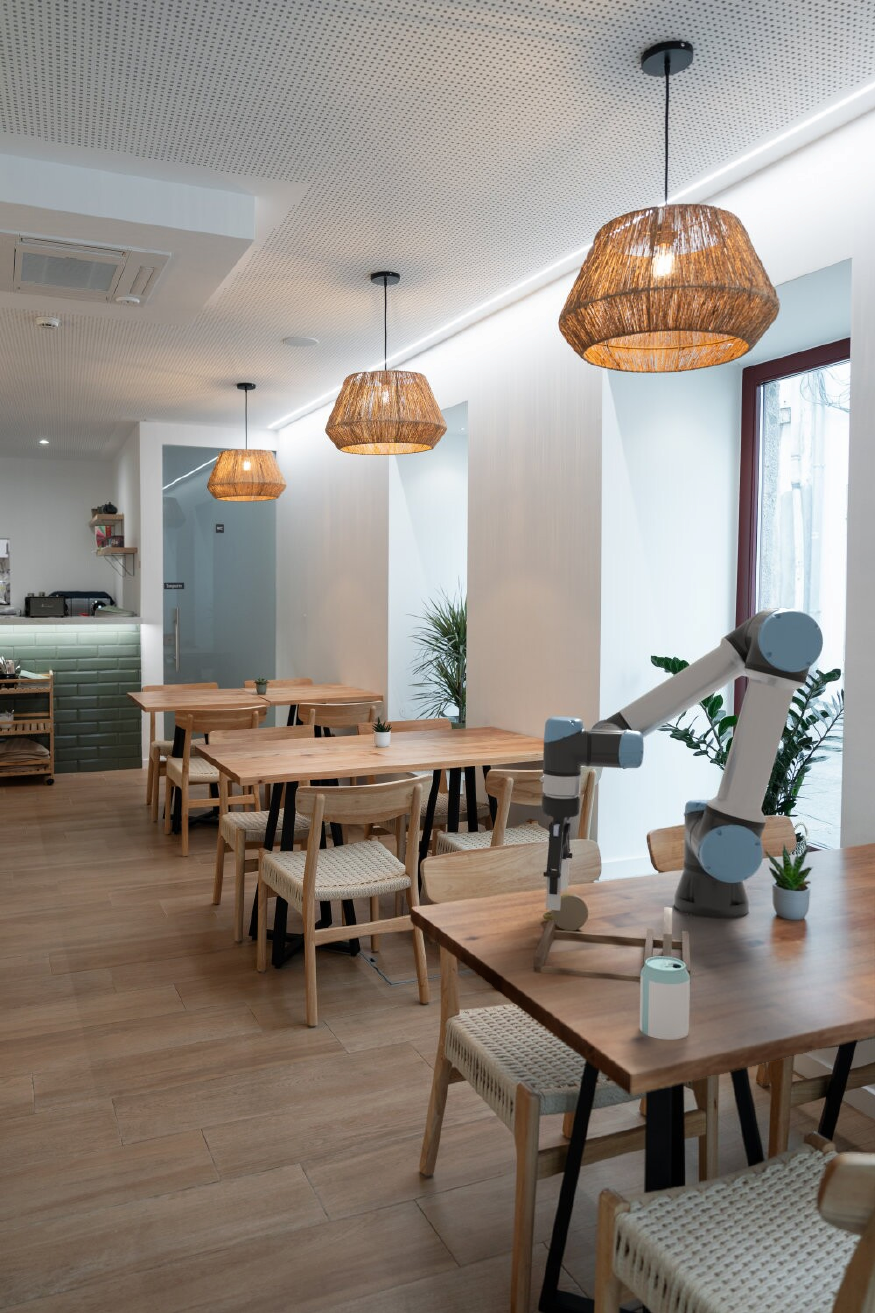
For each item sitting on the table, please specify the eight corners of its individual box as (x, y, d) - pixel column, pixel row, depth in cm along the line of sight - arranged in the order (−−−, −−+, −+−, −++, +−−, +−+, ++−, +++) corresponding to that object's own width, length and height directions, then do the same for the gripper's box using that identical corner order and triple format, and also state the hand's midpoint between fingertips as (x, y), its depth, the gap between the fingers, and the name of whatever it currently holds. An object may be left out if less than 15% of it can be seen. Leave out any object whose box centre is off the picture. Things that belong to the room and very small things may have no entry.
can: (668, 1029, 150) (670, 951, 149) (698, 1049, 143) (700, 967, 143) (629, 1037, 147) (631, 958, 146) (658, 1057, 140) (660, 974, 140)
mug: (578, 913, 203) (594, 882, 197) (575, 951, 195) (591, 920, 189) (543, 902, 203) (558, 871, 197) (538, 939, 195) (553, 908, 189)
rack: (688, 951, 183) (689, 905, 182) (690, 993, 163) (691, 941, 163) (548, 939, 189) (548, 894, 188) (533, 978, 170) (534, 928, 169)
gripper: (549, 782, 210) (546, 881, 211) (533, 805, 186) (529, 916, 187) (585, 785, 208) (581, 884, 209) (573, 808, 184) (569, 920, 185)
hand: (557, 899), depth 198 cm, fingers open, 13 cm apart
